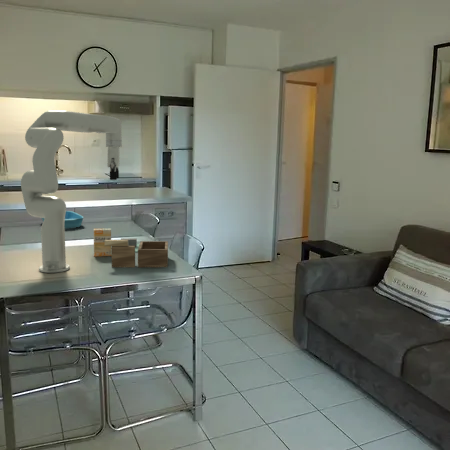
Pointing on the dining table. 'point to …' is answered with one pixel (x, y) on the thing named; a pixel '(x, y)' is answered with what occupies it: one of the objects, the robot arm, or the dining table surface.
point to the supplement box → (102, 242)
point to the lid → (132, 242)
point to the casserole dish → (71, 220)
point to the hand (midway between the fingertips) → (114, 178)
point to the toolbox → (141, 255)
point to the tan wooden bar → (116, 242)
